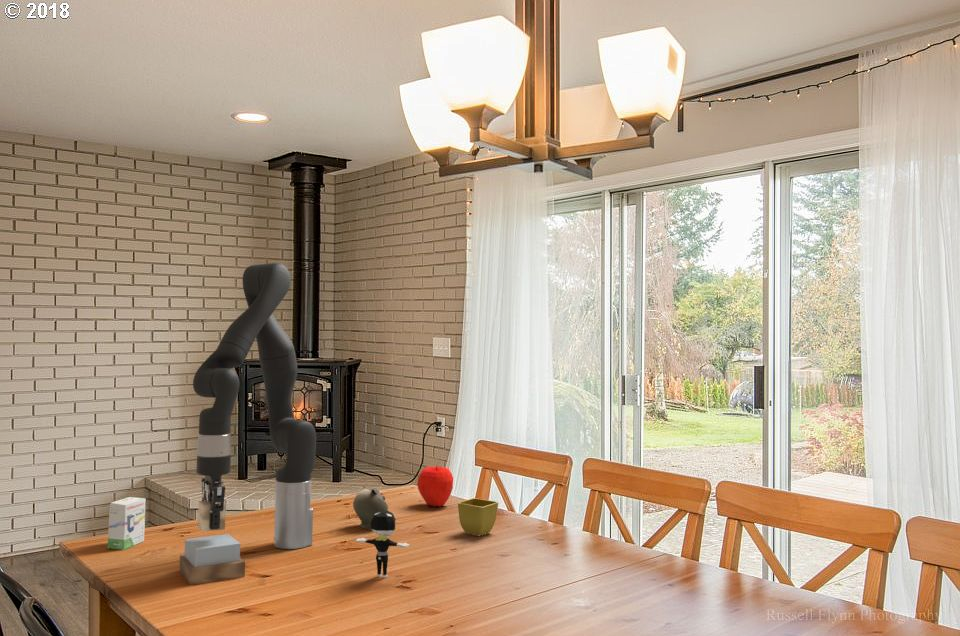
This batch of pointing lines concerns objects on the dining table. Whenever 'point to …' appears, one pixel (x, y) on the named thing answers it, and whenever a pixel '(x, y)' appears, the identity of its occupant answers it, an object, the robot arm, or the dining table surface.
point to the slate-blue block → (212, 550)
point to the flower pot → (477, 515)
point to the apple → (435, 485)
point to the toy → (382, 539)
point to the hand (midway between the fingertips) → (211, 526)
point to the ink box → (126, 523)
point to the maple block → (205, 517)
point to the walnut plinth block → (211, 571)
